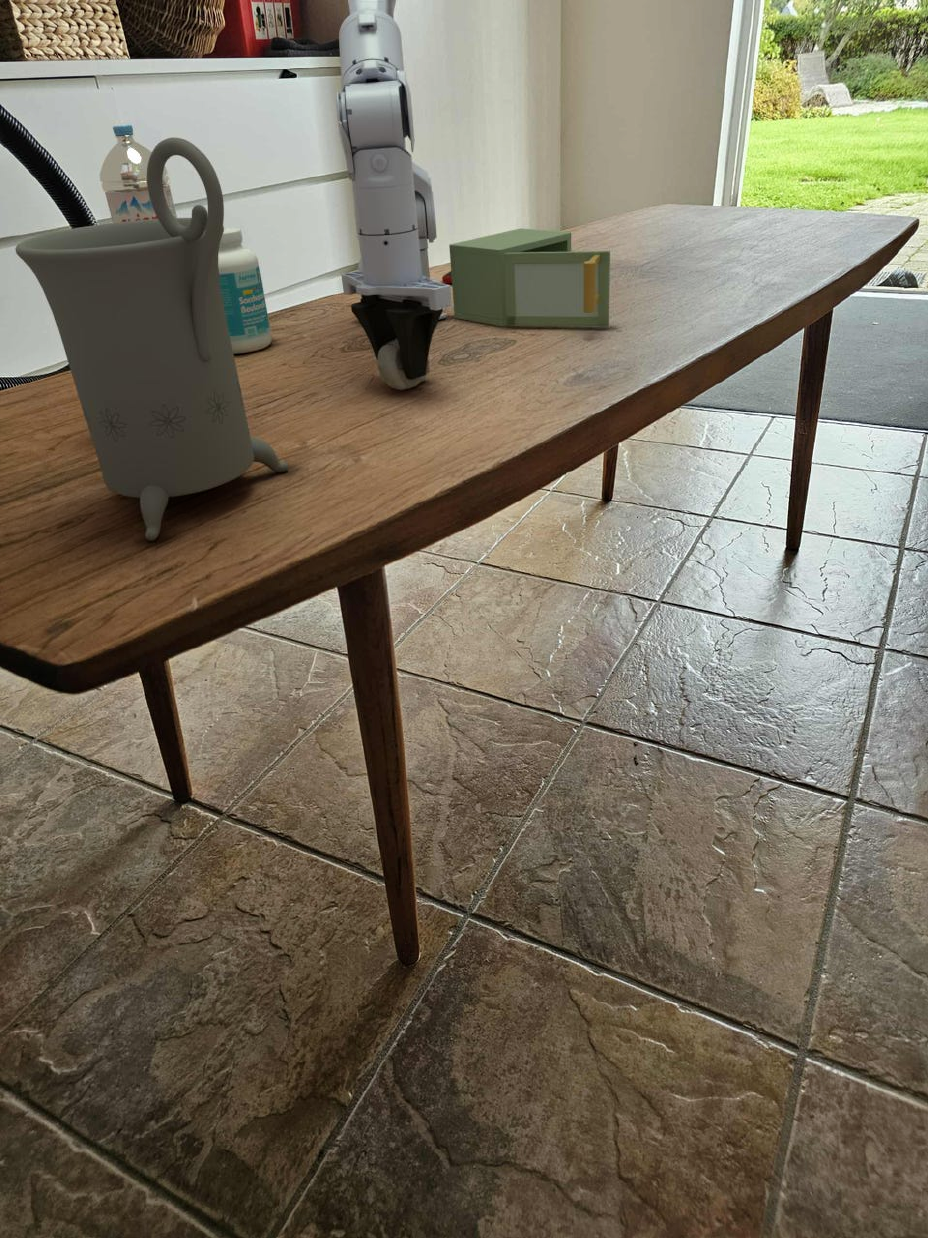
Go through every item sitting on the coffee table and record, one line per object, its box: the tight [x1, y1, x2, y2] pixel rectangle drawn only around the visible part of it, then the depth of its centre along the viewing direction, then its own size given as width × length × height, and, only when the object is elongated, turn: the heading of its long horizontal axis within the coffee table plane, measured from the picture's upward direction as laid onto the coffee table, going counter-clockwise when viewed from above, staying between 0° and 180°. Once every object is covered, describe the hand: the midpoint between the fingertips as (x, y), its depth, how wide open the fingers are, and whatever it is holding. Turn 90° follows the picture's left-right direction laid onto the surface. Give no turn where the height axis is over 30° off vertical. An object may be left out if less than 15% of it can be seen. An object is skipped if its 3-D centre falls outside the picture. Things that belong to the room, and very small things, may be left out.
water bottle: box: [99, 124, 178, 223], centre depth 94 cm, size 7×7×25 cm
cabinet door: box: [504, 250, 611, 328], centre depth 102 cm, size 13×5×8 cm, turn 72°
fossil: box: [376, 339, 430, 391], centre depth 89 cm, size 6×3×5 cm, turn 151°
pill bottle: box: [218, 227, 273, 355], centre depth 105 cm, size 8×7×14 cm
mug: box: [14, 137, 289, 542], centre depth 63 cm, size 19×15×25 cm
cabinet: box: [448, 227, 572, 328], centre depth 112 cm, size 13×9×9 cm
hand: (403, 373), depth 89 cm, fingers closed on fossil, 3 cm apart
